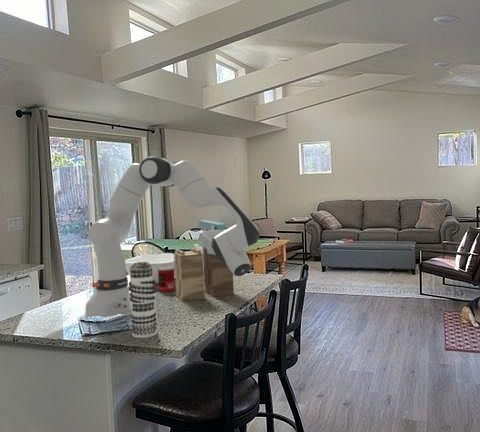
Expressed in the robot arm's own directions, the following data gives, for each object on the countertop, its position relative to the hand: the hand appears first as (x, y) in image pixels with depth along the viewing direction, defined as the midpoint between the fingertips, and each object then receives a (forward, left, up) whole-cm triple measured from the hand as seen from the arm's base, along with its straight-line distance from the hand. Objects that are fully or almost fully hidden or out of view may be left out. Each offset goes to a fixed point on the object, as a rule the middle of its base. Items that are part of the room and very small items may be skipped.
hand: (218, 226), depth 212 cm
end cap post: (+19, +10, -33) cm, 39 cm away
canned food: (+19, +38, -34) cm, 54 cm away
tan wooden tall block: (+9, +20, -33) cm, 40 cm away
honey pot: (+52, +36, -34) cm, 71 cm away
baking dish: (+37, +56, -34) cm, 75 cm away
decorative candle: (-45, +9, -33) cm, 57 cm away
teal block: (+6, +6, -2) cm, 9 cm away
